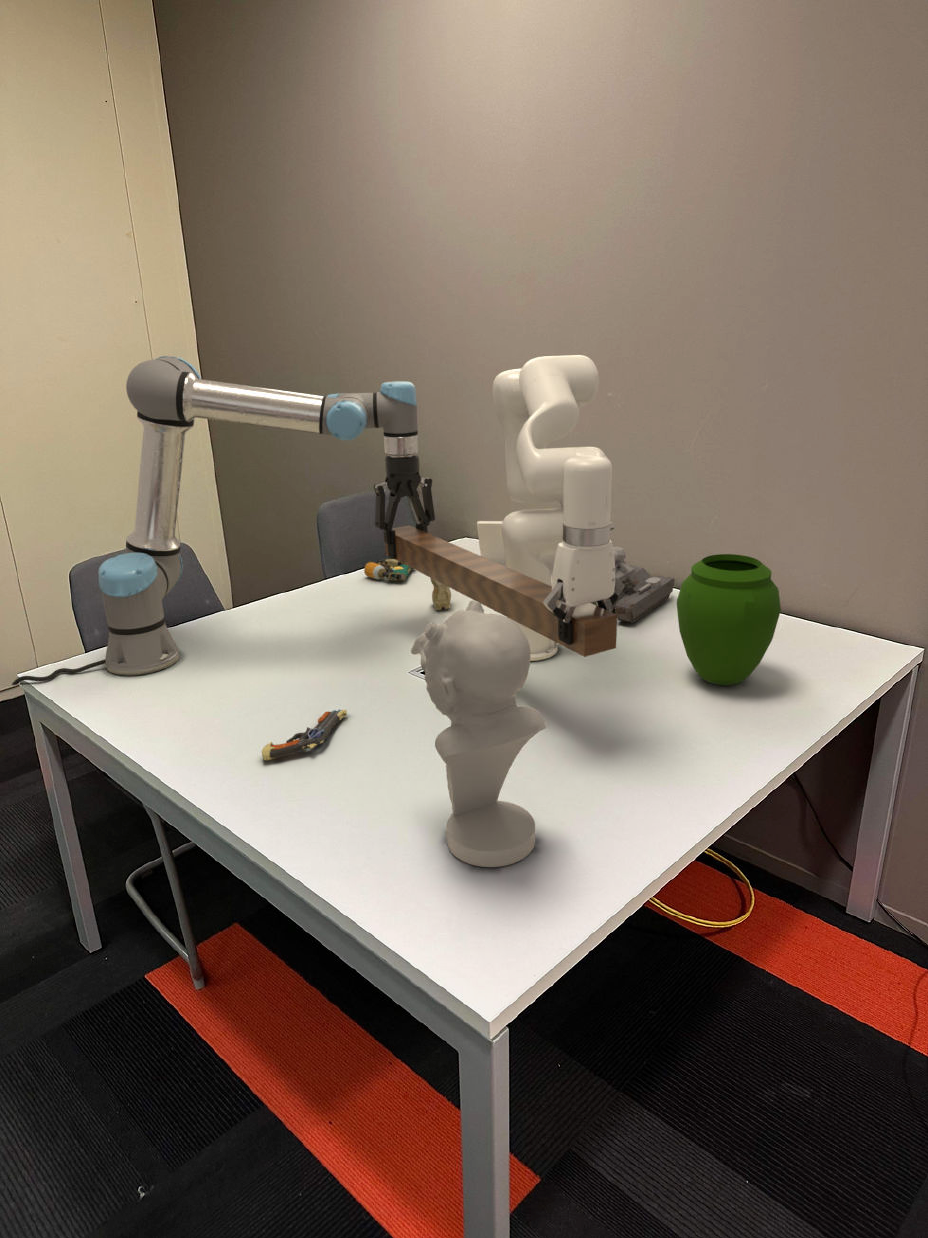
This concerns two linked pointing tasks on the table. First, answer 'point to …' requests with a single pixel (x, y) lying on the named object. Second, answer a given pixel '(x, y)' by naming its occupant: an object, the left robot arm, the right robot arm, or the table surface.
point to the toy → (638, 589)
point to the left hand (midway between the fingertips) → (407, 554)
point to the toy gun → (305, 737)
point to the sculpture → (441, 595)
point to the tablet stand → (501, 545)
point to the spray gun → (387, 569)
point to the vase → (727, 616)
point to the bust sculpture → (481, 729)
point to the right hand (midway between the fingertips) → (583, 636)
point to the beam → (503, 590)
